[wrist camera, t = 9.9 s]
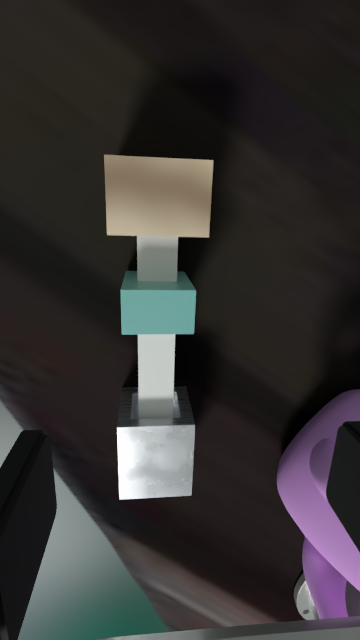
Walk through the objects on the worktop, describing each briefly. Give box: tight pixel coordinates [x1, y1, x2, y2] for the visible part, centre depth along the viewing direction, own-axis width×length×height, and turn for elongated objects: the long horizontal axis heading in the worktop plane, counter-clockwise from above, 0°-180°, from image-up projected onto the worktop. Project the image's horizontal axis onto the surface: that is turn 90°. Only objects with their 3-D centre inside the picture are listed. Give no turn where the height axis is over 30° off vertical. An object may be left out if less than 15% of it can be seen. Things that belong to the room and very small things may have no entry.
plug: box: [121, 236, 196, 419], centre depth 26 cm, size 18×5×7 cm, turn 178°
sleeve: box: [117, 386, 195, 500], centre depth 30 cm, size 7×6×6 cm
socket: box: [104, 155, 213, 238], centre depth 23 cm, size 4×6×6 cm
